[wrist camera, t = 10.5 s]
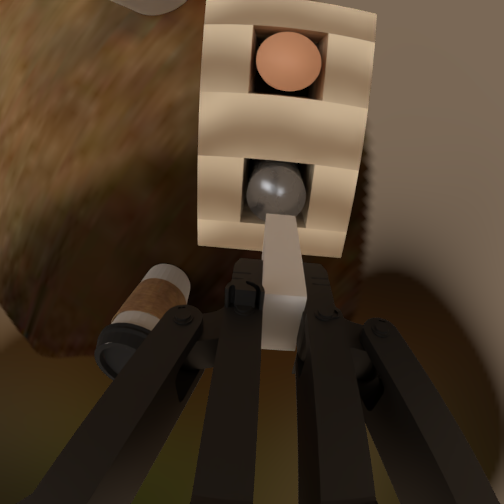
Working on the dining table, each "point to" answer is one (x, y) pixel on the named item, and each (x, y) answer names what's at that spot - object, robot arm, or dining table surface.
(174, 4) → the cup
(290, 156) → the birch block
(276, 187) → the peg steel
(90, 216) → the dining table surface
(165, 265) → the coffee cup
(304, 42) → the peg terracotta
